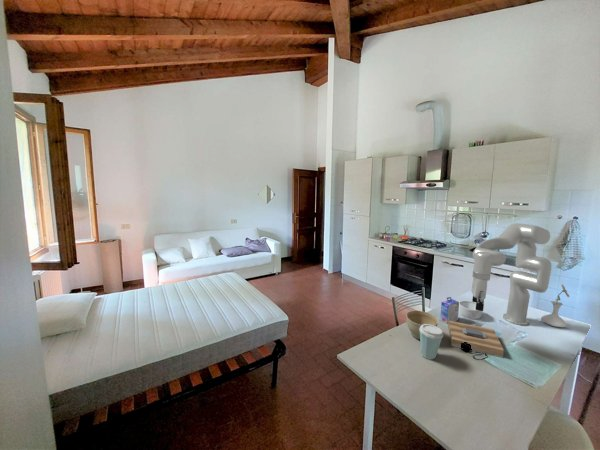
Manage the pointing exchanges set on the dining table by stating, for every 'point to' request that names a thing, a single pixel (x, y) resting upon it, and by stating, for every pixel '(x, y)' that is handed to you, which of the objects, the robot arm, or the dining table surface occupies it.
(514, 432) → the dining table surface
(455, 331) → the wooden board
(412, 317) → the planter bowl
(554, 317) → the flower in vase
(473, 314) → the ramekin
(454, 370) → the dining table surface
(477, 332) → the flanged block
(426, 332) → the disposable coffee cup
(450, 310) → the ink cartridge box
